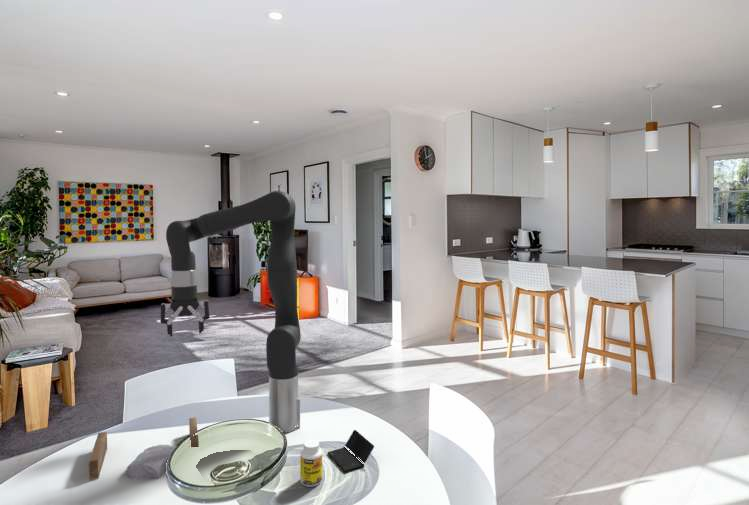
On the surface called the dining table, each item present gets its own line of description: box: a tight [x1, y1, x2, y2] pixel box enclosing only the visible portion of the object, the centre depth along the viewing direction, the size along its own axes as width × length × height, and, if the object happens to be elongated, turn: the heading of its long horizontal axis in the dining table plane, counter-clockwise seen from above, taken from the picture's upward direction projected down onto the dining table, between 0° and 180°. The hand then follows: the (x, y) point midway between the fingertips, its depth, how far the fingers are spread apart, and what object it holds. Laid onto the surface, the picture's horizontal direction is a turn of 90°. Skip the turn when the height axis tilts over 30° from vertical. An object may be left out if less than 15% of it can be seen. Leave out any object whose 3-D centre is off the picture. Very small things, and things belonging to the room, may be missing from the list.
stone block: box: [126, 444, 177, 480], centre depth 120 cm, size 12×5×10 cm
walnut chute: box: [88, 417, 200, 481], centre depth 126 cm, size 26×16×5 cm, turn 114°
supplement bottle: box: [299, 439, 323, 488], centre depth 114 cm, size 6×6×10 cm
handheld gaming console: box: [327, 429, 375, 474], centre depth 125 cm, size 12×7×10 cm
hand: (185, 334), depth 142 cm, fingers open, 8 cm apart
